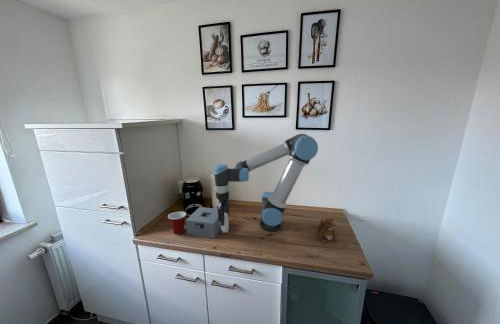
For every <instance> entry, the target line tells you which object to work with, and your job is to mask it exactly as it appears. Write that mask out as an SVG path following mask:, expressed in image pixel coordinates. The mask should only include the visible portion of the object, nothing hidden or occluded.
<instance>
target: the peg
mask: <svg viewBox="0 0 500 324" xmlns="http://www.w3.org/2000/svg"><path fill="white" fill-rule="evenodd" d="M224 220H225V224H226V230H221V232H222V233H228V232H229V231H230V230H229V229H230V228H229V226H230V225H228V222H229V215H228V214H227V213H225V214H224Z"/></svg>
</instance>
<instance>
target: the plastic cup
mask: <svg viewBox="0 0 500 324" xmlns="http://www.w3.org/2000/svg"><path fill="white" fill-rule="evenodd" d="M186 216H187V213H186V211H174V212H172V213H169V214H168V215H167V219H168V220H169V221H170V225H171V228H172V231H173V233H174V235H181V234H182V233H183V232H184V230H185V229H184V228H185V223H186Z"/></svg>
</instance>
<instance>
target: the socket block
mask: <svg viewBox="0 0 500 324" xmlns="http://www.w3.org/2000/svg"><path fill="white" fill-rule="evenodd" d="M208 214H210V216H209V217H205V215H208ZM199 224H203V225H202V226H201V229H196V225H199ZM185 225H186V235H187V236H193V237H194V236H195V237H201V238H207V239H215V238H216V236H217V235H218V233H220V230H221V221H219V220H218V209H217V208H212V207H203V206H199V207H198V208H197V209H196V210H195V211H194V212H193V213H191V214H190V216H189V217H187V218H185Z"/></svg>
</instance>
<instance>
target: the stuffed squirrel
mask: <svg viewBox="0 0 500 324" xmlns="http://www.w3.org/2000/svg"><path fill="white" fill-rule="evenodd" d="M336 227H337V225H336V224H335V222H334V217H331V218H325V217H322V219H321V220H320V221H319V224H318V225H317V228H316V232H317V234H318V239H319V240H320V242H321V244H323V245H326V244H327V242H330V241H334V242H335V241H336V242H338V238H337V236H338V233H337V231H336V230H335V229H334V228H336Z"/></svg>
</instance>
